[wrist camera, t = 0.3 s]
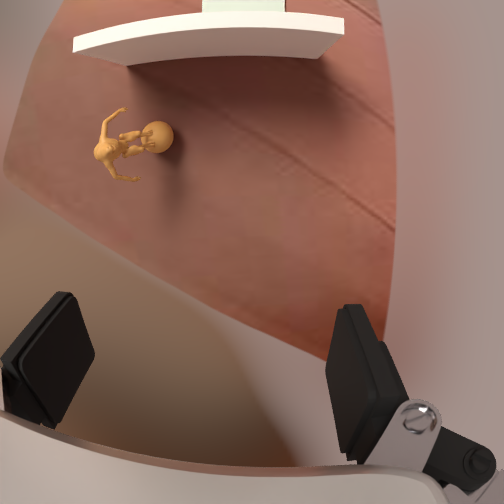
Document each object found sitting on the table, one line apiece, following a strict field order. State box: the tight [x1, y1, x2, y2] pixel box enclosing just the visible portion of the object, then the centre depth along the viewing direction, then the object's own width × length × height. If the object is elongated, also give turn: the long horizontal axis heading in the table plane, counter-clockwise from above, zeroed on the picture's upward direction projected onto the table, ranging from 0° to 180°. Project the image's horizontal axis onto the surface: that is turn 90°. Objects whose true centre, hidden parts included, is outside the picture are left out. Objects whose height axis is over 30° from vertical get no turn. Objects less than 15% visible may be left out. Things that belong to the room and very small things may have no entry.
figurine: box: [94, 108, 174, 182], centre depth 31 cm, size 8×6×12 cm
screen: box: [73, 11, 344, 66], centre depth 25 cm, size 24×2×13 cm, turn 89°
